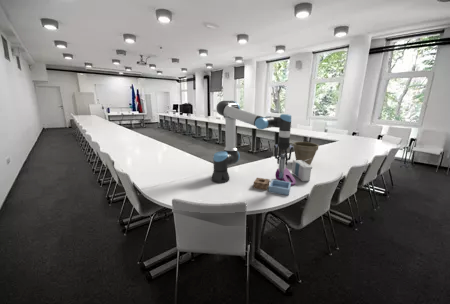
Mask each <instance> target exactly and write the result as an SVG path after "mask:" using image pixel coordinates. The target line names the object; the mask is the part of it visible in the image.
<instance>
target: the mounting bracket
mask: <svg viewBox="0 0 450 304" xmlns="http://www.w3.org/2000/svg"><path fill="white" fill-rule="evenodd" d="M275 180H278V181H285V182H291V186H295V185H296V183H297V179H295V177H294V176H293V173H292V172H291V171H290V170H289V168H288V167H285V169H284V176H283V178H279V169H278V168H277V169H276V171H275Z"/></svg>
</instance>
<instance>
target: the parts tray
mask: <svg viewBox="0 0 450 304" xmlns="http://www.w3.org/2000/svg"><path fill="white" fill-rule="evenodd" d="M291 183H292V182H291V181H289V182H285V181H283V180H277V179H272V180H271V182H270V183H269V187H268V192H269V193H273V194H278V195H284V196H290V192H291V191H290V190H291Z"/></svg>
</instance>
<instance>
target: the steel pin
mask: <svg viewBox="0 0 450 304" xmlns="http://www.w3.org/2000/svg"><path fill="white" fill-rule="evenodd" d="M285 157H286V155H285V153H281V154H280V169H279V178H283V176H284V161H285V160H286V159H285Z"/></svg>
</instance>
